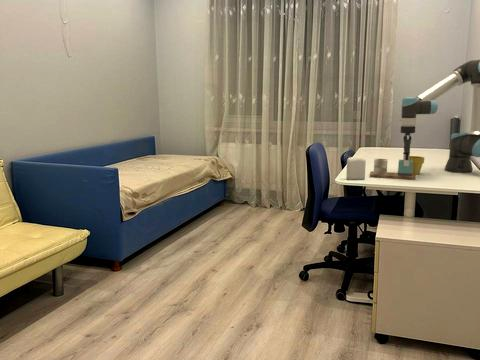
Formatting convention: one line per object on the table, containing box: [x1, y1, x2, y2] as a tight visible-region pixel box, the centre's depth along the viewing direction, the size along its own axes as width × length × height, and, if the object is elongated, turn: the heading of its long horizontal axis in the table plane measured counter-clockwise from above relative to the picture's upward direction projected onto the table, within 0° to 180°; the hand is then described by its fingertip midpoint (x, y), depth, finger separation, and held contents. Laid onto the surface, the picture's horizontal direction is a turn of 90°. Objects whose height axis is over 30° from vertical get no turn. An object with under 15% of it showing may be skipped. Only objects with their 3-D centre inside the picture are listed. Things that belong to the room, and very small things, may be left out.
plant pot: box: [409, 155, 425, 175], centre depth 257 cm, size 10×10×10 cm
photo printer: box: [345, 156, 367, 180], centre depth 238 cm, size 10×4×12 cm, turn 96°
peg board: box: [369, 157, 417, 181], centre depth 246 cm, size 24×12×10 cm, turn 71°
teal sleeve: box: [397, 159, 413, 176], centre depth 244 cm, size 7×7×8 cm
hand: (405, 164), depth 243 cm, fingers open, 13 cm apart
